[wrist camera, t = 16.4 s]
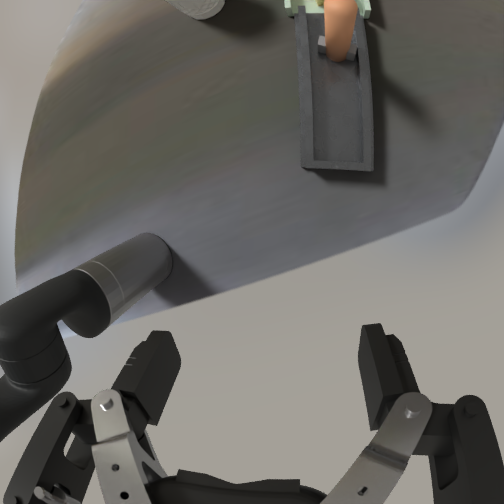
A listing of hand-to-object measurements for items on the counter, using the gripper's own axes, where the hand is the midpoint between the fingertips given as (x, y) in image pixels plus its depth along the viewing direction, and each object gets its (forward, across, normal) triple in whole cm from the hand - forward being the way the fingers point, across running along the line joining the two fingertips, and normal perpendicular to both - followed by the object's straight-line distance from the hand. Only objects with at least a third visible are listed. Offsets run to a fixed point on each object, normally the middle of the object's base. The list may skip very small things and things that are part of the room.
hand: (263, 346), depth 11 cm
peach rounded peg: (+32, -10, -19) cm, 38 cm away
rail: (+32, -9, -14) cm, 36 cm away
